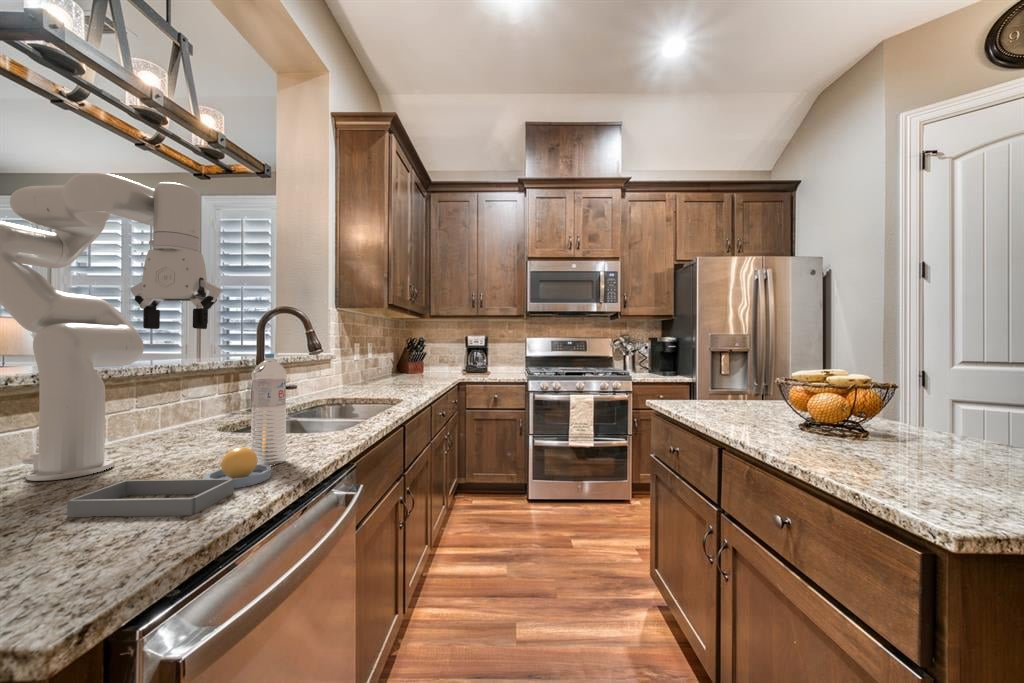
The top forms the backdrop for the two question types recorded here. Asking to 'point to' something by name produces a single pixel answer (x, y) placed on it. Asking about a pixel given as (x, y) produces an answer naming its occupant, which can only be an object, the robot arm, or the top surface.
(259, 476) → the dish
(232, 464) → the yellow-orange oval ball
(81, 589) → the top surface
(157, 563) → the top surface
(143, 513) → the shallow grey tray
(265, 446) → the water bottle
